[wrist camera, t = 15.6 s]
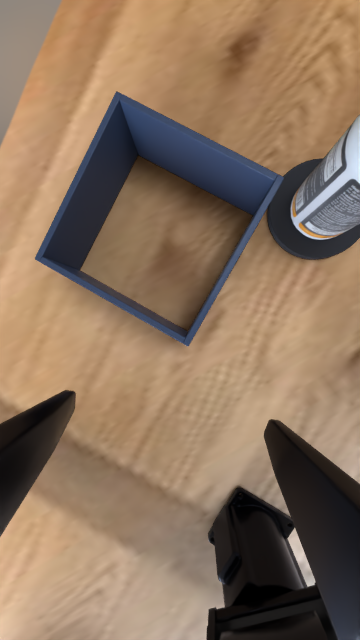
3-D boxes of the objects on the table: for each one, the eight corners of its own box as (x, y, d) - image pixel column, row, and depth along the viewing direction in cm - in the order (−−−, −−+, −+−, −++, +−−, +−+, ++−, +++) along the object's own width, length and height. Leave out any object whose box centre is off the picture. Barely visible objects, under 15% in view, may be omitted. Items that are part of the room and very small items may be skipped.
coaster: (385, 190, 18) (392, 186, 17) (332, 276, 18) (337, 275, 18) (298, 146, 18) (302, 140, 17) (249, 232, 19) (251, 229, 18)
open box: (260, 213, 19) (284, 177, 14) (189, 337, 19) (188, 346, 14) (136, 148, 19) (116, 90, 14) (73, 272, 20) (34, 258, 15)
